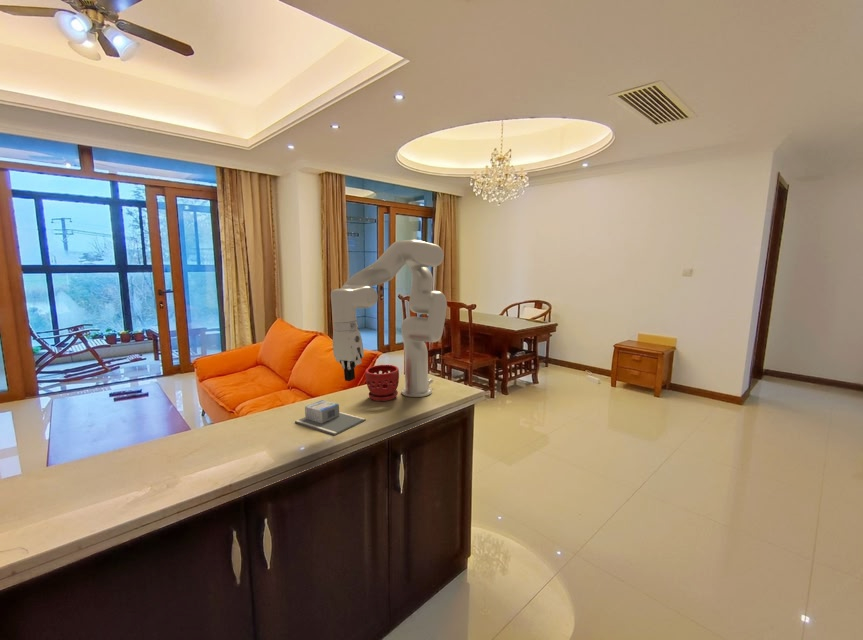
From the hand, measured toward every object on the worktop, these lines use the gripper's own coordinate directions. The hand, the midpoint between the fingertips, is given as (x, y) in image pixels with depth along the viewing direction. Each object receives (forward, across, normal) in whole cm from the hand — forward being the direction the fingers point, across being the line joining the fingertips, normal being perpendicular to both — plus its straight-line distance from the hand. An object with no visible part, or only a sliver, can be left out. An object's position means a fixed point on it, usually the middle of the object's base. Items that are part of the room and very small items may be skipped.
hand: (350, 379), depth 131 cm
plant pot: (+16, +6, -23) cm, 28 cm away
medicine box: (+11, +5, +5) cm, 13 cm away
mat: (+14, +6, +5) cm, 16 cm away
